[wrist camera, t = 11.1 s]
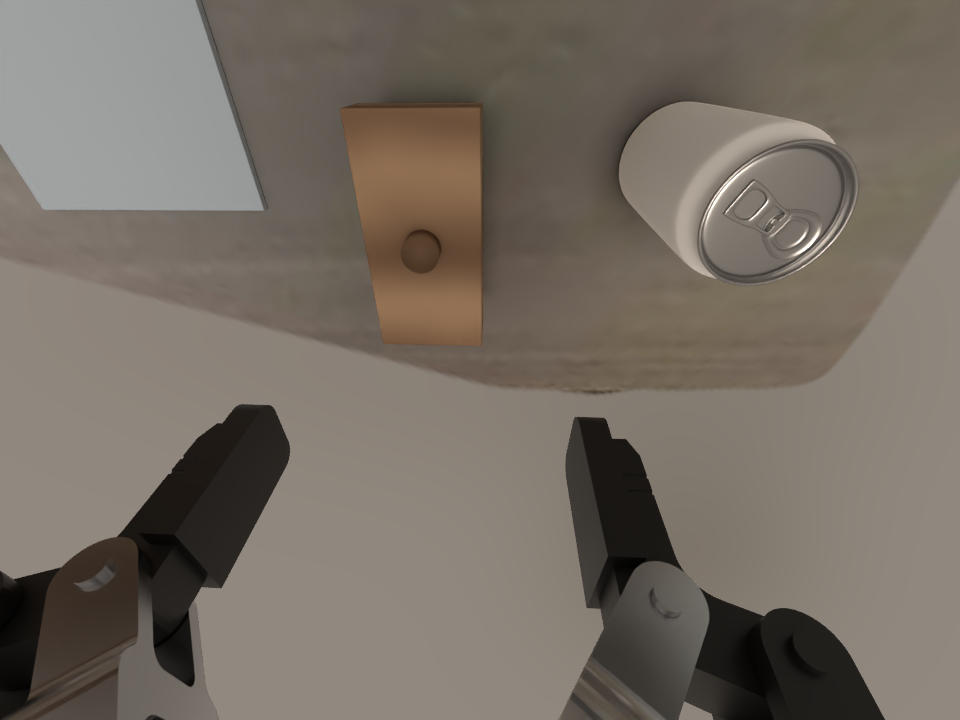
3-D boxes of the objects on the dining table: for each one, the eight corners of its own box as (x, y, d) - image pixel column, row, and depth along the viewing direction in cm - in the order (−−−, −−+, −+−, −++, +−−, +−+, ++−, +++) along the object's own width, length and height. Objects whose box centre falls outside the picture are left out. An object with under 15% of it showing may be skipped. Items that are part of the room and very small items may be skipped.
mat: (-134, -79, 20) (-147, -82, 20) (173, -86, 19) (166, -90, 19) (49, 207, 28) (43, 209, 28) (267, 208, 28) (264, 210, 27)
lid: (358, 103, 20) (330, 110, 17) (482, 102, 20) (478, 110, 17) (393, 320, 28) (379, 354, 25) (483, 321, 28) (480, 356, 24)
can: (670, 230, 27) (762, 318, 18) (595, 183, 26) (652, 252, 16) (748, 137, 24) (914, 185, 14) (667, 76, 22) (793, 83, 13)
